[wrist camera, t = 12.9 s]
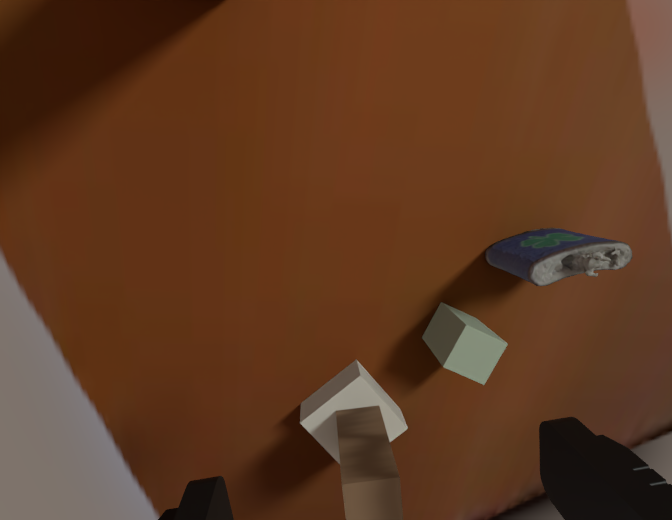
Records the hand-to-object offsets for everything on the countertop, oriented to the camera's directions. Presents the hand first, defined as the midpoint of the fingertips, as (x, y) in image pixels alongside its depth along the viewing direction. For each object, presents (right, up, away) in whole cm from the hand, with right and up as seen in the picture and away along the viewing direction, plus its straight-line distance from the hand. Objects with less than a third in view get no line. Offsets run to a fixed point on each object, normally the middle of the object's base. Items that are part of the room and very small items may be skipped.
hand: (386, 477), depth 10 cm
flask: (+19, +7, +32) cm, 38 cm away
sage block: (+11, -2, +33) cm, 35 cm away
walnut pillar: (+1, -12, +31) cm, 33 cm away
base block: (0, -11, +34) cm, 36 cm away
